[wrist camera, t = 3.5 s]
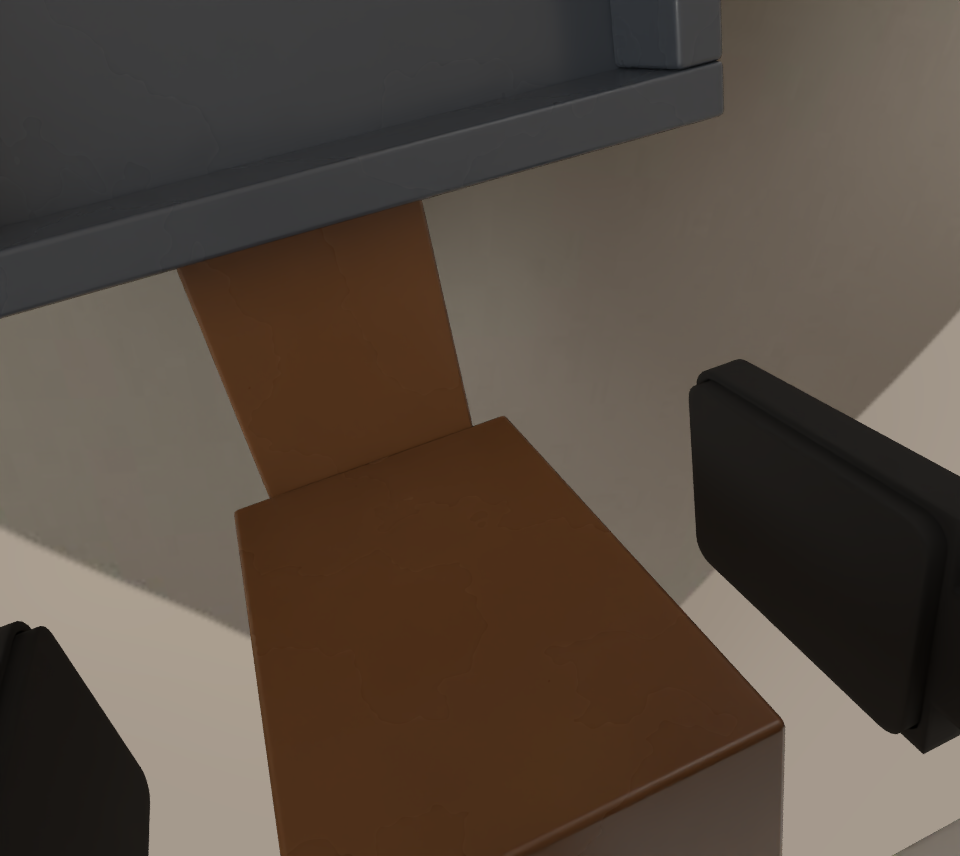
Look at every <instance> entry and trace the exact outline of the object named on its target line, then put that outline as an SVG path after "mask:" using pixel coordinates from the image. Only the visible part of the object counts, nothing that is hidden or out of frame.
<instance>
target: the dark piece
mask: <svg viewBox="0 0 960 856" xmlns="http://www.w3.org/2000/svg"><path fill="white" fill-rule="evenodd" d="M721 55H722V29H721V0H0V319H1V318H4V317H8V316H11V315H15V314H19V313H22V312H26V311H29V310H33V309H36V308H40V307H43V306H47V305H51V304H54V303H58V302H61V301H65V300H68V299H72V298H75V297H79V296H82V295H86V294H90V293H93V292H97V291H100V290H104V289H107V288H111V287H114V286H118V285H122V284H125V283H129V282H132V281H136V280H139V279H143V278H146V277H150V276H153V275H157V274H161V273H164V272H168V271H171V270H175V269H177V272H178V274H179V277H180V279H181V281H182V284H183V286H184V289H185V291H186V294H187V296H188V299H189V301H190V304H191V306H192V309H193V311H194V313H195V316H196V318H197V321H198V323H199V326H200V328H201V331H202V333H203V336H204V338H205V340H206V343H207V345H208V348H209V350H210V353H211V355H212V358H213V360H214V363H215V365H216V367H217V370H218V372H219V375H220V377H221V380H222V382H223V385H224V387H225V390H226V392H227V394H228V397H229V399H230V402H231V404H232V407H233V409H234V412H235V414H236V417H237V419H238V421H239V424H240V426H241V429H242V431H243V434H244V436H245V439H246V441H247V444H248V446H249V448H250V451H251V453H252V456H253V458H254V461H255V463H256V466H257V468H258V471H259V473H260V475H261V478H262V480H263V483H264V485H265V488H266V490H267V493H268V495H269V498H270V499H267V500H264V501H261V502H259V503H256V504H253V505H250V506H247V507H244V508H242V509H239V510H237V511H236V512H235V515H234V517H235V525H236V532H237V539H238V547H239V554H240V561H241V569H242V576H243V583H244V591H245V598H246V605H247V613H248V620H249V628H250V635H251V642H252V649H253V656H254V664H255V672H256V679H257V686H258V694H259V701H260V708H261V715H262V723H263V730H264V737H265V745H266V751H267V760H268V767H269V774H270V782H271V789H272V796H273V804H274V811H275V818H276V826H277V833H278V841H279V848H280V855H281V856H782V831H783V793H784V792H783V791H784V752H785V725H784V722H783V720H782V719H781V717H780V716H779V715H778V714H777V713H776V712H775V711H774V710H773V709H772V707H771V706H769V704H768V703H767V702H766V701H765V700H764V699H763V698H762V697H761V695H760V694H759V693H758V692H757V691H756V690H755V689H754V688H753V687H752V686H751V685H750V683H749V682H748V681H747V680H746V679H745V678H744V677H743V676H742V675H741V674H740V672H739V671H738V670H737V669H736V668H735V667H734V666H733V665H732V664H731V663H730V662H729V661H728V659H727V658H726V657H725V656H724V655H723V654H722V653H721V652H720V651H719V649H718V648H717V647H716V646H715V645H714V644H713V643H712V642H711V641H710V640H709V639H708V638H707V636H706V635H705V634H704V633H703V632H702V631H701V630H700V629H699V628H698V627H697V625H696V624H695V623H694V622H693V621H692V620H691V619H690V618H689V617H688V616H687V614H686V613H684V611H683V610H682V609H681V608H680V607H679V606H678V605H677V604H676V602H675V601H674V600H673V599H672V598H671V597H670V596H669V595H668V594H667V593H666V591H665V590H664V589H663V588H662V587H661V586H660V585H659V584H658V583H657V582H656V581H655V579H654V578H653V577H652V576H651V575H650V574H649V573H648V572H647V571H646V570H645V569H644V567H643V566H642V565H641V564H640V563H639V562H638V561H637V560H636V559H635V558H634V556H633V555H632V554H631V553H630V552H629V551H628V550H627V549H626V548H625V547H624V546H623V544H622V543H621V542H620V541H619V540H618V539H617V538H616V537H615V536H614V535H613V534H612V532H611V531H610V530H609V529H608V528H607V527H606V526H605V525H604V524H603V523H602V521H601V520H600V519H599V518H598V517H597V516H596V515H595V514H594V513H593V512H592V511H591V509H590V508H589V507H588V506H587V505H586V504H585V503H584V502H583V501H582V500H581V498H580V497H579V496H578V495H577V494H576V493H575V492H574V491H573V490H572V489H571V488H570V486H569V485H568V484H567V483H566V482H565V481H564V480H563V479H562V478H561V477H560V476H559V474H558V473H557V472H556V471H555V470H554V469H553V468H552V467H551V466H550V465H549V463H548V462H547V461H546V460H545V459H544V458H543V457H542V456H541V455H540V454H539V453H538V451H537V450H536V449H535V448H534V447H533V446H532V445H531V444H530V443H529V442H528V440H527V439H526V438H525V437H524V436H523V435H522V434H521V433H520V432H519V431H518V430H517V428H516V427H515V426H514V425H513V424H512V423H511V422H510V421H509V420H508V419H507V418H506V417H505V416H501V417H498V418H495V419H492V420H489V421H486V422H484V423H481V424H478V425H475V426H473V425H472V421H471V416H470V412H469V408H468V403H467V399H466V394H465V390H464V385H463V381H462V376H461V372H460V368H459V363H458V359H457V354H456V350H455V345H454V341H453V336H452V332H451V328H450V323H449V319H448V314H447V310H446V305H445V301H444V297H443V292H442V288H441V283H440V279H439V274H438V270H437V265H436V261H435V257H434V252H433V248H432V243H431V239H430V234H429V230H428V226H427V221H426V217H425V212H424V208H423V203H422V200H423V199H427V198H430V197H434V196H438V195H441V194H445V193H448V192H452V191H455V190H459V189H462V188H466V187H469V186H473V185H477V184H480V183H484V182H487V181H491V180H494V179H498V178H501V177H505V176H509V175H512V174H516V173H519V172H523V171H526V170H530V169H533V168H537V167H540V166H544V165H548V164H551V163H555V162H558V161H562V160H565V159H569V158H572V157H576V156H580V155H583V154H587V153H590V152H594V151H597V150H601V149H604V148H608V147H612V146H615V145H619V144H622V143H626V142H629V141H633V140H636V139H640V138H643V137H647V136H651V135H654V134H658V133H661V132H665V131H668V130H672V129H675V128H679V127H683V126H686V125H690V124H693V123H697V122H700V121H704V120H707V119H711V118H714V117H718V116H720V115H721V114H723V111H724V96H723V65H722V63H721V62H720V61H716V60H718V59H719V58H720V57H721Z"/></svg>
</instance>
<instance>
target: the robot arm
mask: <svg viewBox="0 0 960 856" xmlns="http://www.w3.org/2000/svg"><path fill="white" fill-rule="evenodd" d="M689 411H690V429H691V447H692V465H693V484H694V502H695V520H696V537H697V542H698V546H699V548H700V550H701V553H702V554H703V556H704V557H705V559H706V560H707V561H708V562H709V563H710V564H711V565H712V566H713V567H714V568H715V569H716V570H717V571H718V572H719V573H720V574H721V575H722V576H723V577H724V578H725V579H726V580H727V581H728V582H729V583H730V584H732V585H733V586H734V587H735V588H736V589H737V590H738V591H739V592H740V593H741V594H742V595H743V596H744V597H745V598H746V599H747V600H748V601H749V602H750V603H751V604H753V606H755V607H756V608H757V609H758V610H759V611H760V612H761V613H762V614H763V615H764V616H765V617H766V618H767V619H768V620H769V621H770V622H771V623H772V624H773V625H774V626H776V627H777V628H778V629H779V630H780V631H781V632H782V633H783V634H784V635H785V636H786V637H787V638H788V639H789V640H790V641H791V642H792V643H793V644H794V645H795V646H797V647H798V648H799V649H800V650H801V651H802V652H803V653H804V654H805V655H806V656H807V657H808V658H809V659H810V660H811V661H812V662H813V663H814V664H815V665H816V666H817V667H818V668H819V669H820V670H822V671H823V672H824V673H825V674H826V675H827V676H828V677H829V678H830V679H831V680H832V681H833V682H834V683H835V684H836V685H837V686H838V687H839V688H840V689H841V690H842V691H844V692H845V693H846V694H847V695H848V696H849V697H850V698H851V699H852V700H853V701H854V702H855V703H856V704H857V705H858V706H859V707H860V708H861V709H862V710H863V711H864V712H866V713H867V714H868V715H869V716H870V717H871V718H872V719H873V720H874V721H875V722H876V723H877V724H878V725H879V726H880V727H882V728H883V729H884V730H886V731H888V732H890V733H892V734H898V733H901V734H902V735H904V737H905V738H907V739H908V740H909V741H910V742H911V743H912V744H913V745H914V746H915V747H916V748H917V749H919V751H921V753H923V754H924V753H926V752H928V751H930V750H932V749H934V748H936V747H938V746H940V745H942V744H943V743H945V742H947V741H949V740H951V739H953V738H955V737H957V736H959V735H960V476H958V475H956V474H954V473H952V472H951V471H949V470H947V469H945V468H943V467H941V466H940V465H938V464H936V463H934V462H932V461H930V460H928V459H927V458H925V457H923V456H921V455H919V454H917V453H915V452H914V451H912V450H910V449H908V448H906V447H904V446H903V445H901V444H899V443H897V442H895V441H893V440H891V439H890V438H888V437H886V436H884V435H882V434H880V433H879V432H877V431H875V430H873V429H871V428H869V427H867V426H866V425H864V424H862V423H860V422H858V421H856V420H855V419H853V418H851V417H849V416H847V415H845V414H843V413H842V412H840V411H838V410H836V409H834V408H832V407H831V406H829V405H827V404H825V403H823V402H821V401H819V400H818V399H816V398H814V397H812V396H810V395H808V394H807V393H805V392H803V391H801V390H799V389H797V388H795V387H794V386H792V385H790V384H788V383H786V382H784V381H783V380H781V379H779V378H777V377H775V376H773V375H771V374H770V373H768V372H766V371H764V370H762V369H760V368H758V367H757V366H755V365H753V364H751V363H749V362H747V361H745V360H742V359H738V360H734V361H731V362H728V363H726V364H723V365H720V366H717V367H715V368H712V369H709V370H706V371H704V372H702V373H701V374H700V375H699V376H698V379H697V385H696V386H693V387H692V388H691V389H690V392H689ZM149 815H150V794H149V788H148V784H147V781H146V778H145V775H144V773H143V771H142V769H141V767H140V766H139V764H138V763H137V761H136V760H135V758H134V757H133V755H132V754H131V752H130V751H129V749H128V748H127V746H126V745H125V743H124V742H123V740H122V739H121V737H120V736H119V734H118V733H117V731H116V729H115V728H114V727H113V725H112V723H111V722H110V720H109V719H108V717H107V716H106V714H105V713H104V711H103V710H102V708H101V707H100V706H99V704H98V702H97V701H96V699H95V698H94V696H93V695H92V693H91V692H90V690H89V689H88V687H87V686H86V684H85V683H84V681H83V680H82V678H81V677H80V675H79V674H78V672H77V671H76V669H75V668H74V666H73V665H72V663H71V662H70V660H69V659H68V657H67V656H66V654H65V653H64V651H63V649H62V648H61V646H60V645H59V644H58V642H57V640H56V639H55V637H54V636H53V635H52V633H51V632H50V631H49V630H48V629H47V628H46V627H44V626H39V627H36V628H34V629H31V628H30V627H29V626H28V625H27V624H25V623H24V622H20V621H16V622H13V623H11V624H8V625H5V626H2V627H0V856H148V850H149V849H148V847H149ZM893 856H960V819H958V820H956V821H954V822H953V823H951V824H949V825H947V826H945V827H943V828H942V829H940V830H938V831H936V832H934V833H933V834H931V835H929V836H927V837H925V838H923V839H922V840H920V841H918V842H916V843H914V844H913V845H911V846H909V847H907V848H905V849H904V850H902V851H900V852H898V853H896V854H894V855H893Z"/></svg>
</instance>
